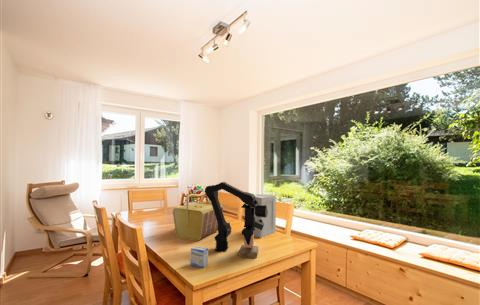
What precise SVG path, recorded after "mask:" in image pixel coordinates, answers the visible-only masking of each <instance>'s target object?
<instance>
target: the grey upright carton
mask: <svg viewBox="0 0 480 305" xmlns="http://www.w3.org/2000/svg"><path fill="white" fill-rule="evenodd" d="M253 194H254V195H255V197H256V200H257V202H258V203H259V205H267V210H268V215H267V218H265V217H257V216H256V215H255V209H254V217H255V220H258V221H259V220H260V219H261V220H262V221H263V223H264V226H263V229H262V230H259V229H258V228H255V227H254V228H255V230H254V237H255V236H256V237H255V238H258V237H259V238H258V239H262V237H263V238H265V236H266V237H268V236H271V235H273V234H275V232H276V230H277V229H276V226H277V225H276V222H277V221H276V220H277V219H276V218H277V215H276V214H277V213H276V212H277V209H276V208H277V195H276V194H267V193H266V194H265V193H264V194H263V193H261V194H260V193H253ZM272 233H273V234H272ZM270 234H271V235H270ZM267 235H268V236H267Z"/></svg>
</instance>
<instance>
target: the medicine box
mask: <svg viewBox="0 0 480 305" xmlns="http://www.w3.org/2000/svg"><path fill="white" fill-rule="evenodd" d="M189 262H190V266H191V267H196V268H201V269H204V268H206V267H207V266H208V265H209V248H208V247H203V246H198V245H194V246H193V247H191V248H190V260H189Z"/></svg>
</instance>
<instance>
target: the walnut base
mask: <svg viewBox="0 0 480 305" xmlns="http://www.w3.org/2000/svg"><path fill="white" fill-rule="evenodd" d="M238 250H239V251H238V257H239V258H240V257H241V258H254V259H257V258H258V256H259V255H258V254H259V245H254V246H253V248H250V247H244V244H241V246H240V249H238Z"/></svg>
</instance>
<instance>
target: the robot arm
mask: <svg viewBox="0 0 480 305" xmlns="http://www.w3.org/2000/svg"><path fill="white" fill-rule="evenodd" d="M221 190H223V191H224V192H227V193H228V194H230V195H233V196H234V197H236V198H238V199H240V201H241V202H242V203H243V204H242V205H241V208H242V209H244V217H243V221H244V222H243V223H244V225H243V228H242V230H241V235H242V236H243V238H244V237H245V240H246V242H247V245H249V244H250V239H251V236H252V235H253V234H254V230H255V228H258V229H259V230H262V229H263V226H264V223H263V221H262V220H261V219H260V220H259V221H258V220H255V217H254V209H255V215H256V216H257V217H265V218H267V215H268V210H267V205H259V203H258V202H257V200H256V197H255V195H254V194H255V193H250V192H248V191H243V190H241V189H239V188H236V187H235V186H232V185H231V184H229V183H227V182H226V181H222V182H219V183H217V184H212V185H208V186H205V189H204V192H205V195H206V197H207V199H208V201H209V200H210V203H211V204H212V207H213V210H214V213H215V216H216V219H217V222H218V231H217V234H216V235H215V236H214V241H215V250H214V251H215V252H227V250H228V249H229V240H228V238H229V236H230V235H231V233H232V227H231V223H230V222H227V221H226V218H225V215H224V211H223V212H222V209H221V206H220V204H221V203H220V201H219V191H221ZM254 227H255V228H254Z"/></svg>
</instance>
